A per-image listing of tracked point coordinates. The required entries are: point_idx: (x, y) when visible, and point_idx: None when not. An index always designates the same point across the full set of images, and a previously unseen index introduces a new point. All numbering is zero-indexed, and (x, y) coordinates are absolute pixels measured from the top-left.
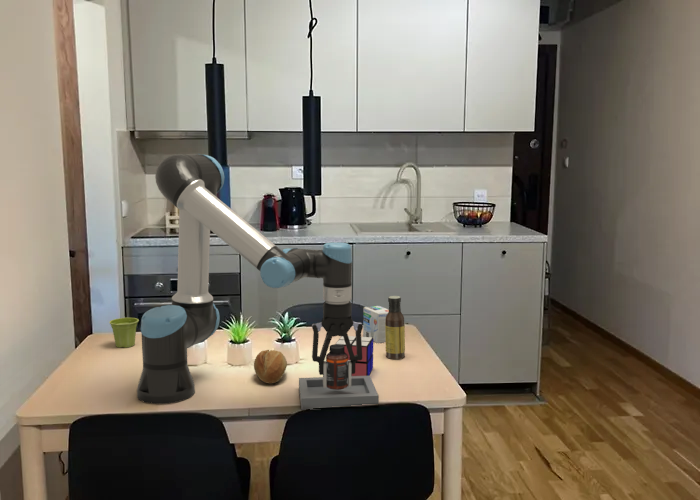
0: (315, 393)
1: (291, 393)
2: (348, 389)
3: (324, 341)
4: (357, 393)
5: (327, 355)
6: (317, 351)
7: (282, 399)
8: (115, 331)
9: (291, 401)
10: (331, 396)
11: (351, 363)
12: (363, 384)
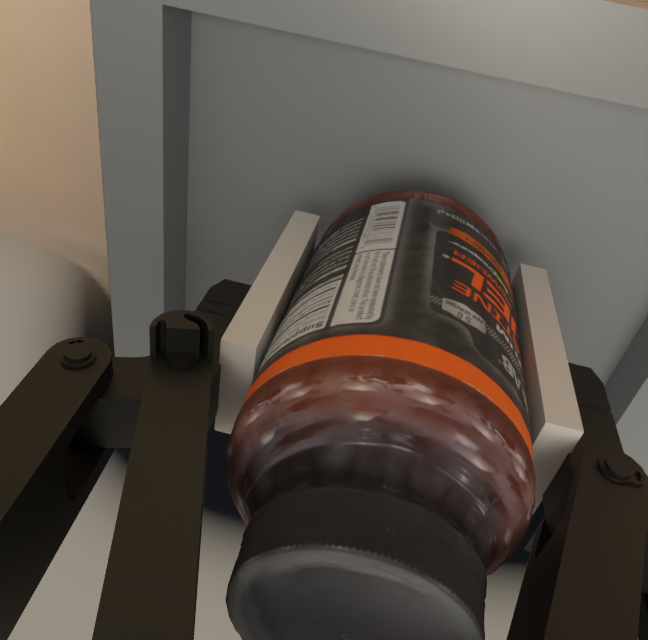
0: (250, 185)
1: (79, 28)
2: (548, 187)
3: (100, 631)
4: (570, 296)
5: (232, 490)
6: (63, 536)
7: (25, 140)
8: None
9: (89, 197)
10: None
11: (547, 487)
12: None
